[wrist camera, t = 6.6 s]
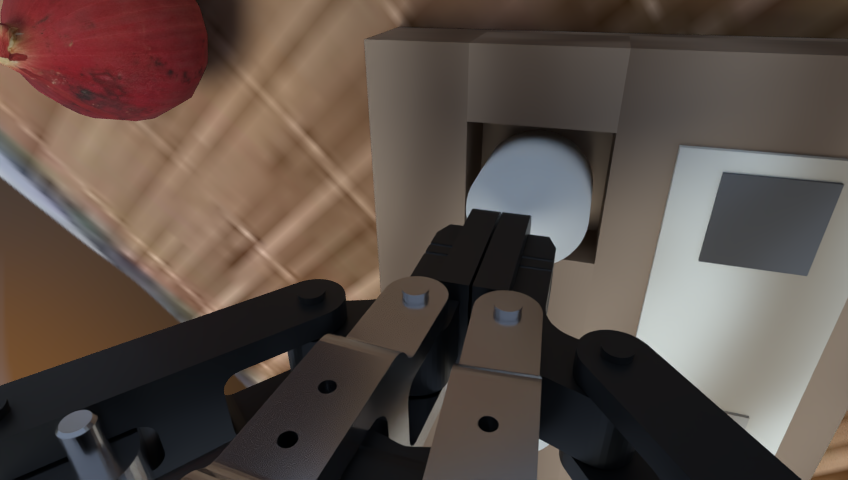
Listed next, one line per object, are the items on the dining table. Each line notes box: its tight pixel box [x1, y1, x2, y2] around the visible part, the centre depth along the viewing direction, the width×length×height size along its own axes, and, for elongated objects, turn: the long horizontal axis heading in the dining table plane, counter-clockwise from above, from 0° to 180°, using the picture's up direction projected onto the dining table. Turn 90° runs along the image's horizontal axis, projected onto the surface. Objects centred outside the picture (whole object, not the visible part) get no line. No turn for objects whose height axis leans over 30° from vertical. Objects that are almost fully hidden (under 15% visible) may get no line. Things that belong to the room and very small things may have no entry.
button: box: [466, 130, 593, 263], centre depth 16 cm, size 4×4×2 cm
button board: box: [364, 27, 848, 480], centre depth 21 cm, size 16×26×3 cm, turn 1°
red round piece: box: [0, 0, 208, 121], centre depth 18 cm, size 6×6×8 cm
